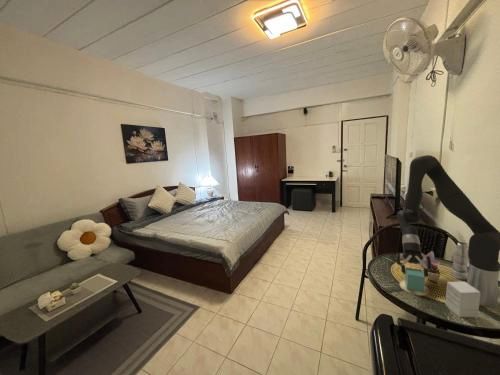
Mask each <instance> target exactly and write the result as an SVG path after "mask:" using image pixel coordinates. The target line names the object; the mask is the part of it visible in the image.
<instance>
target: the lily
mask: <svg viewBox="0 0 500 375" xmlns="http://www.w3.org/2000/svg"><path fill="white" fill-rule="evenodd" d="M421 255H422V256H423V257H427V256H429V257H430V260H431V263H432V264H436V266H437V265H439V264H441V261H440V260H437V259H435V254H434V251H432V250H431V251H429V252H428V253H427V254H425V253H423V252H421ZM421 261H422V262H423V263H424V264H425V265H426V264H427V262H426V261H425V260H424V259H422V260H421Z"/></svg>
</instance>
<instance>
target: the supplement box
mask: <svg viewBox="0 0 500 375" xmlns="http://www.w3.org/2000/svg"><path fill="white" fill-rule="evenodd" d="M480 294H481V292H479V291H478V290H476V289H475V288H474V287H472V286H471V285H469V284H468V283H467V281H465V280H462V281H447V282H446V293H445V306H446V307H447V308H448V309H450V310H451V311H452V312H453V313H454V314H456V315H457V317H460V318H473V317H474V318H475V320H476V319H478V318H479V308H480V305H479V302H480Z"/></svg>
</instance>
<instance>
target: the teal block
mask: <svg viewBox="0 0 500 375" xmlns="http://www.w3.org/2000/svg"><path fill="white" fill-rule="evenodd" d="M405 272H406V273H405V274H404V280H405V284H406V288H407V290H412V291H417V292H422V293H424V285H425V279H426V277H425V276H424V272H423V269H418V268H412V267H406V266H405Z"/></svg>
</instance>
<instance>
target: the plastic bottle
mask: <svg viewBox="0 0 500 375" xmlns="http://www.w3.org/2000/svg"><path fill="white" fill-rule="evenodd" d="M456 246H457V247H455V248H453V251H452V254H453V258H452V259H453V263H452V265H451V266H452V267H451V269H450V275H451V277H453V278H455V279H457V280H461V281H467V276H468V265H469V257H468V243H466V242H463V241H457V243H456Z"/></svg>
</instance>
